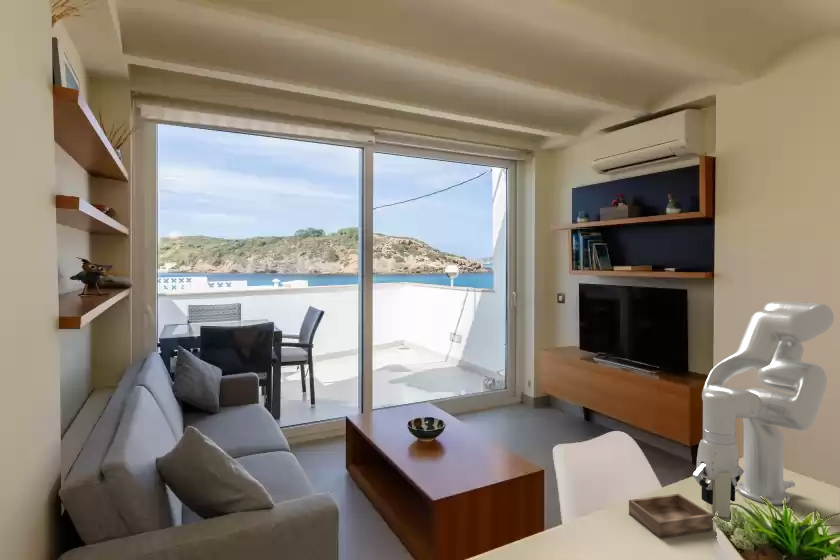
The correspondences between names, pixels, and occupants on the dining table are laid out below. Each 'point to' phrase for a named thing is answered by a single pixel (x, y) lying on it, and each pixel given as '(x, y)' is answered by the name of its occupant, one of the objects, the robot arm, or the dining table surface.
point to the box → (670, 515)
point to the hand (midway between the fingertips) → (718, 500)
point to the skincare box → (721, 495)
